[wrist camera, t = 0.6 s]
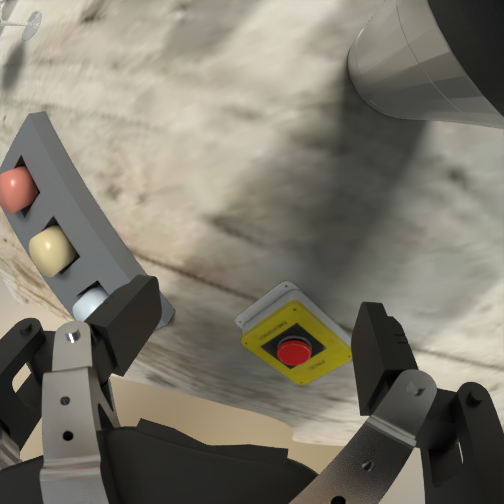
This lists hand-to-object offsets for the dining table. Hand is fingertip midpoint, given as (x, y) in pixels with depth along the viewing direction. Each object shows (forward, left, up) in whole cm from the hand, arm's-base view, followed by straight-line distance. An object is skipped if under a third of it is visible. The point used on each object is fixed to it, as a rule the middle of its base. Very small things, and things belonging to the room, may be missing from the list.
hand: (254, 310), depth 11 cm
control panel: (+12, -26, -18) cm, 34 cm away
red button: (+5, -33, -16) cm, 37 cm away
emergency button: (+17, +7, -18) cm, 26 cm away
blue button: (+19, -19, -16) cm, 31 cm away
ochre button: (+12, -26, -16) cm, 33 cm away
